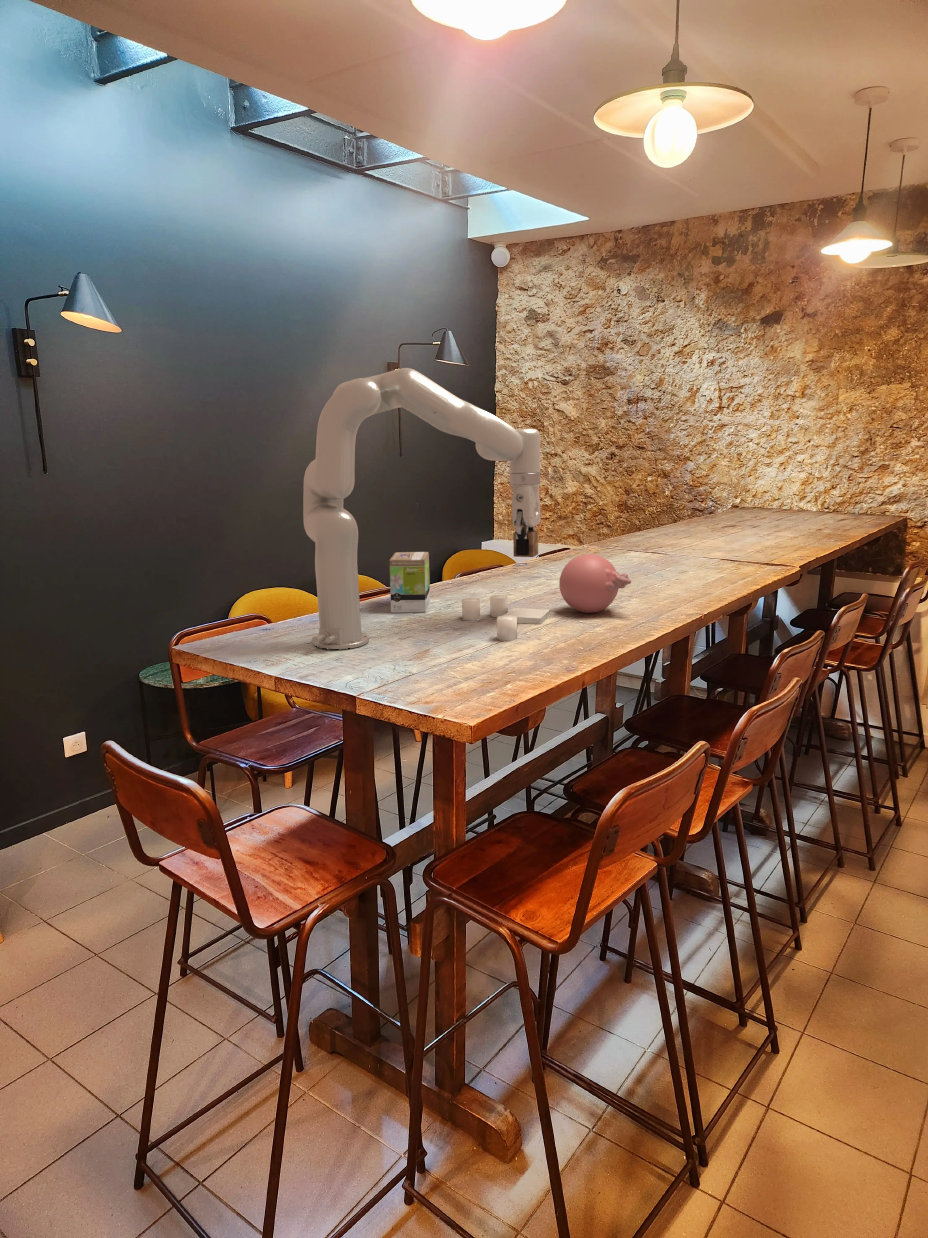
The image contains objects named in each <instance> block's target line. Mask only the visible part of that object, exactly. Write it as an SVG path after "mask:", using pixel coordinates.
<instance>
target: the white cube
mask: <svg viewBox="0 0 928 1238" xmlns="http://www.w3.org/2000/svg"><path fill="white" fill-rule="evenodd" d="M480 602H481V600H480V598H478V597H465V598H462V599H461V616H462V617H461V619H462V620H463V621H469V622H470V621H471V620H473V621H478V619H479V620H480V619H481V603H480Z"/></svg>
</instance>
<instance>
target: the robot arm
mask: <svg viewBox="0 0 928 1238" xmlns="http://www.w3.org/2000/svg"><path fill="white" fill-rule="evenodd" d="M398 408H403V409H405V410H406V411H408V412H410V413H412V415H415V416H416V417H418V418H420V419H421V420H423V421H425V423H428V424H429V425H431V426H432V427H433V428H435V429H437V430H439V431H440V432H443V433H446V434H449V435H453V436H455V437H461V438H464V439H467V440H470V441H472V442H474V443H475V450H476V452H477V454H478V455H479V456H480V457H481V458H483V459H484V460H488V461H497V462H498V461H499V462H501V461H503V462H509V487H511V488H512V499H511V503H512V505H511V506H512V507H511V508H512V509H511V518H512V525H513V527H514V530H515V532H516V554H517V555H529V539H528V530H535V531H536V526H538V525H539V524H540V523H541V522H542V521H541V520H542V519H541V518H542V517H541V499H540V490H539V487H540V486H541V433H540V431H539V430H538V429H536V428H516V429H515V427H513V426H512V425H510V424H508V423H507V422H506V421H504V420H503V419H501V418H499V417H498V416H496V415H494V414H492V413H490V412H488V411H486V410H484V409H482V408H480V407H478V406H477V405H474V404H473V403H470V402H468V401H466V400H464V399H462V398H459V397H458V396H456V395H454V394H453V393H451V392H450V391H449V390H447V389H445V388H444V387H442V386H441V385H439V384H437V383H436V382H435V381H433V380H431V379H430V378H429V377H427V376H426V375H424V374H423V373H421V372H419V371H417V370H416V369H413V368H411V367H403V368H398V369H394V370H391V371H387V372H383V373H381V374H375V375H372V376H367V377H359V378H354V379H351V380H348V381H347V380H346V381H345V382H342V383H340V384H339V385H337V387H336V388H335V389H334V391H333V393H332V395H331V396H330V397H329V399H328V400H327V401H326V403H325V405H324V406H323V409H322V410H321V412H320V415H319V418H318V422H317V429H316V443H315V444H316V445H315V459H313V460H312V461H310V463H309V464H308V466H307V467H306V469H305V472H304V476H303V501H302V502H303V504H302V507H303V508H302V509H303V511H302V512H303V513H302V514H303V515H302V516H303V529H304V531H305V533H306V535H307V536H308V538H309V539H310V540H311V541H313V543H315V544H314V545H315V546H314V547H315V551H314V552H315V554H314V569H315V571H314V572H315V579H316V580H315V581H316V583H315V584H316V594H317V608H318V609H317V610H318V611H317V612H318V621H319V622H318V624H319V628H318V634H317V635H313V637H311V643H312V644H313V646H314V647H316V646H317V647H316V648H318V647H320V648H319V649H322V648H328V649H327V650H330V649H339V650H349V649H348V648H350V649H355V648H359V647H362V646H365V645H366V644H368V643H369V636H368V635H367V634H366V633H362V622H361V621H362V620H361V619H362V618H361V605H360V604H361V603H360V587H359V586H360V585H359V572H358V571H359V569H358V548H359V547H358V545H359V544H358V543H359V529H358V524H357V521H356V519H355V517H354V516H353V515H352V513H350V512H349V510H346V509H345V508H344V499H346V498H347V497H349V496H350V495H351V494H352V492H353V490H354V488H355V487H354V486H355V484H356V483H355V473H356V472H355V460H356V459H355V458H356V455H355V453H356V452H355V451H356V440H357V434H358V430H359V427H360V425H361V424H362V423H363V421H364V420H365V419H366V418H369V417H371V416H372V415H377V414H380V413H384V412H387V411H391V410H395V409H398ZM524 530H525V533H524Z"/></svg>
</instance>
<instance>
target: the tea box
mask: <svg viewBox="0 0 928 1238" xmlns="http://www.w3.org/2000/svg"><path fill="white" fill-rule="evenodd" d="M429 557H430V553H429V551H405V552H404V551H401V552H398V551H397V552H394V553H393V555H392V556H391V558H390V559H389V585H390V593H389V594H390V613H392V614H394V613H398V614H399V613H400V614H401V613H402V614H403V613H426V611H427V610H428V607H429V604H430V601H431V592H430V591H431V590H430V588H431V585H430V584H431V583H430V582H431V581H430V558H429Z"/></svg>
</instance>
